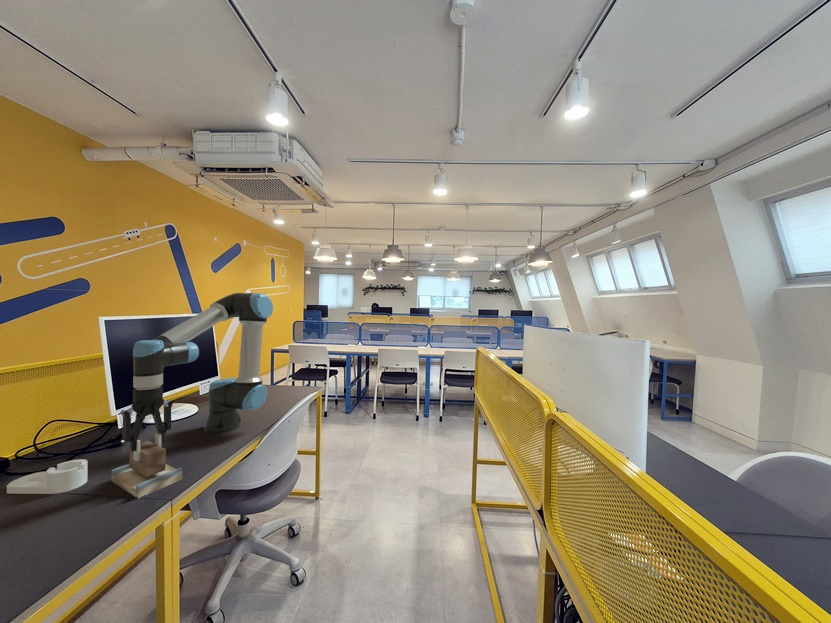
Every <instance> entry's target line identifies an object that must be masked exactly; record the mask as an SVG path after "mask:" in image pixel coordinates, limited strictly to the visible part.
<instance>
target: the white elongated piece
mask: <svg viewBox="0 0 831 623" xmlns="http://www.w3.org/2000/svg"><path fill="white" fill-rule="evenodd" d="M88 464H89V462H88V459H83V458H82V459H81V458H79V459H78V458H77V459H72V460H68V461H64V462H61V463H58V464H56V467H49V468H48V469H47V470H46V471H38V472H33V473H31V474H27V475H24V476H21V477H19V478H16V479H14V480H12V481H10V482H9V483H8V484H7V485H6V494H9V495H10V494H21V495H22V494H25V495H26V494H29V495H30V494H31V495H33V494H34V495H36V494H39V495H41V494H42V495H57V494H62V493H66V492H70V491H72V490H75V489H77V488H80V487H82V486H84V484H86V483H87V482H88Z"/></svg>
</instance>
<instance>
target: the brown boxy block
mask: <svg viewBox="0 0 831 623" xmlns="http://www.w3.org/2000/svg"><path fill="white" fill-rule="evenodd" d="M133 454H134V452H132V451H131V450H130V449H129V456H128V457H129V460H128V461H129V463H128V464H129V467H130V468H132V469H133V470H135V471H137V472H139V473H140V474H142V475H144V476H146V477H148V476H151V475H154V474H156V473H159V472H162V471H164V470H165V464H167V463H166V461H167V449H166V448H165V447H162V446H161V447H160V446H158V445H156V444H155V442H154V443H153V442H151V441H150V440H147V441H146V440H145V441H144V442H140V461H136V460H134V459H133Z"/></svg>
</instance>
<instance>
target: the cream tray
mask: <svg viewBox="0 0 831 623" xmlns="http://www.w3.org/2000/svg"><path fill="white" fill-rule="evenodd" d="M183 473H184V472H183V467H177V468H175V467H173V466H171V465H169V464H168V463H166V464H165V470H164V471H162V472H159V473H156V474H154V475H151V476H148V477H146V476H144V475H142V474H140V473H139V472H137V471H135V470H133V469H132V468H130V467H129V463H128V464H125V465H122V466H119V467H117V468H114V469H111V482H112V483H114V484H115V485H117V486H118V487H119V488H121V489H122V490H124V491H126V492H127V493H128V494H130V495H132V496H133V497H135V498H136V497H137V498H136V499H141V498H143V497H145V496H147V495H149V494H152V493H154V492H156V491H159V490H161V489H163V488H166V487H167V486H170V485H172V484H174V483H176V482H179V481H182V480H183V476H184V475H183ZM144 495H145V496H144ZM142 496H143V497H142Z"/></svg>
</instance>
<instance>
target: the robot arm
mask: <svg viewBox="0 0 831 623" xmlns="http://www.w3.org/2000/svg"><path fill="white" fill-rule="evenodd" d="M273 312H274V304H273V301H272V299H270V297H269V296H268V295H267V294H264V293H260V292H259V293H258V292H235V293H232V294H229V295H227V296H224V297H222V298H220V299H218V300H216V301H214V302H212V303H211V304H210V305H209V307H207V308H206V309H205V310H202V311H201V312H199V313H198V314H195V315H193V316H192V317H190V318H189V319H186V320H185V321H184V322H181V323H180V324H178V325H176V326H174V327H172V328H171V329H168V330H167V331H165V332H163V333H162V334H160V335H159V336H156V337H155V338H153V339H150V340H149V339H148V340H147V339H145V340H138V341H136V342H135V343H134V345H133V347H132V348H133V349H132V357H133V361H132V362H133V366H132V367H133V372H132V373H133V374H132V375H133V377H132V379H133V380H132V382H133V384H132V386H133V388H134V389H132V395H133V396H132V404H131V406H130V407H129V408H128V409H123V410H120V415H121V417H122V426H121V427H122V428H121V430H122V433H121V434H122V437H121V438H122V439H121V440H122V441H124V442H126V443H129V451H130V450H131V451H132V452H134V454H133V459H134V460H136V461H140V443H141V440H139V436H140V432H141V429H142V427H143V423H144V420H146V417H147V416H150V415H151V416H152V418H153V422H154V425H155V428H156V430H157V432H155V433H154V444H156V445H158V446H160V447H162V443H164V442H165V435H166V434H167V431H170V430H171V429H172V408H173V404H174V401H173V400H170V399H167V400H165V399H164V398H163V397H164V386H162V385H164V367H170V366H175V365H181V364H182V365H183V364H188V363H192V362H195V361H196V360H197V359H198V357H199V355H200V349H199V347H198V345H197V344H196V343H194V342H193V341H192V342H191V340H193V339H194V338H196V337H198V336H199V335H201V334H202V333H204V332H206V331H208V330H209V329H210V328H212V327H214V326H215V325H217V324H219V323H220V322H226V321H228V320H230V319H233V318H238V322H239V324H241V325H242V326H241V338H240V340H241V341H240V350H239V352H240V353H239V364H238V365H239V366H238V377H229V378H221V379H218V380H214V381H211V383H209V385H208V386H209V387H208V415H207V418H206V419H205V423H204V425H203V432H204V433H206V434H208V435H209V434H210V435H218V434H219V435H220V434H225V433H229V432H232V431H235V430H237V429H239V428H240V427H241V426H242V419H241V415H240V413H239V410H244V411H256V410H258V409H259V408H261V407H262V406H263V404H264V403H265V402H266V401H267V400H266V399H267V396H268V389H267V387H266V386H265V385H263V378H262V377H260V368H261V354H262V340H263V327H264V325H266V324H267V321H268V318H271V316H272V315H273ZM162 406H163V420H162V416H161V411H160V409H161V407H162ZM238 409H239V410H238ZM133 412H134V413H135V420H134V422H133V423H134V424H133V427H132V415H133Z"/></svg>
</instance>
